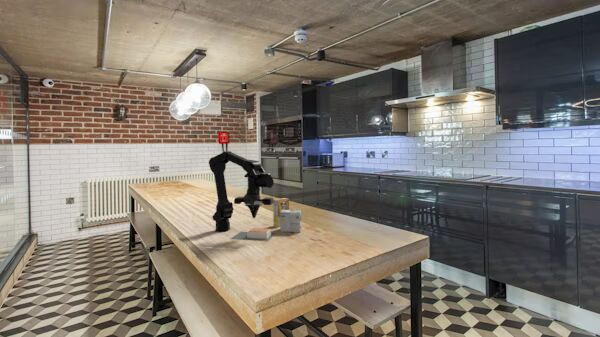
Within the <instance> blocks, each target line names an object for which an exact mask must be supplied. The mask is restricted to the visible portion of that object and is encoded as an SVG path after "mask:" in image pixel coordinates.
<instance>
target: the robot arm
mask: <svg viewBox="0 0 600 337" xmlns="http://www.w3.org/2000/svg"><path fill="white" fill-rule="evenodd" d="M230 162H231V163H233V164H235V165H238V166H239V167H241V168H242V169H243V171H245V172H246V174H244V176H243V177H244V178H247V189H246V193H245V194H244V196H238V197H235V198H234V200H233V202H232V201H231V202H230V200H229V198H228V193H227V187H226V178H225V171H226V167H227V164H228V163H230ZM208 165H209V170H210V171H211V172H212V173H213V176H214V181H215V182H214V183H215V188H216V194H217V204H216V207H215V210H216V211H215V213H214V214H213V215H211V216H212V217H211V218H212V220H213V221H214V222H215V230H214V232H219V233H220V232H221V233H226V232H228V231H229V230H231V224H230V219H231V218H232V216H233V213H234V206H233V205H240V204H242V203H243V204H244V206H246V207H247V208H248V209H249V211H250V214H251V216H252V219H255V218H257V215H258V211H259V209H260V207H261V206H262V205H264V206H271V205H273V203H274V200H275V199H274V198H273V197H264V198H261V196H260V193H261V188H265V189H266V188H267V189H271V188H272V187H273V186H274V179H273V177H272V174H271V173H266V171H265V170H264V168H263V166H262V164H261V162H260V161H258V160H255V159H247V158H245V157H242V156H241V155H238V154H236V153H233V152H232V151H229V150H227V151H226V150H225V151H223V152H221V153H220V154H217V155H215V156H212V157H211V158H210V159H209V160H208Z"/></svg>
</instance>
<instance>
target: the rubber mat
mask: <svg viewBox="0 0 600 337" xmlns="http://www.w3.org/2000/svg"><path fill="white" fill-rule="evenodd" d="M247 232H248V231H240V232H239V233H236V234H235V235H233V236H232V237H231V238H230V240H238V241H241V240H242V241H254V242H256V241H258V242H268V241H270V240H271V239H272V238H273V236H275V235H276V232H274V233H273V232H271V236H270V237H269V238H267V239H259V238H247Z"/></svg>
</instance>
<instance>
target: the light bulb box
mask: <svg viewBox="0 0 600 337" xmlns="http://www.w3.org/2000/svg"><path fill="white" fill-rule="evenodd" d="M279 228H280V232H290V233H301V230H302V210H301V209H289V210H282V211H281V212H280V227H279Z"/></svg>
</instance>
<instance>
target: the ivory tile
mask: <svg viewBox="0 0 600 337" xmlns="http://www.w3.org/2000/svg"><path fill="white" fill-rule="evenodd" d="M246 232H247V238H259V239H267V238H269V237H270V236H271V233H272V229H271V228H266V227H265V228H263V227H262V228H261V227H260V228H258V227H252V228H251V229H249V230H248V231H246Z"/></svg>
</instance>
